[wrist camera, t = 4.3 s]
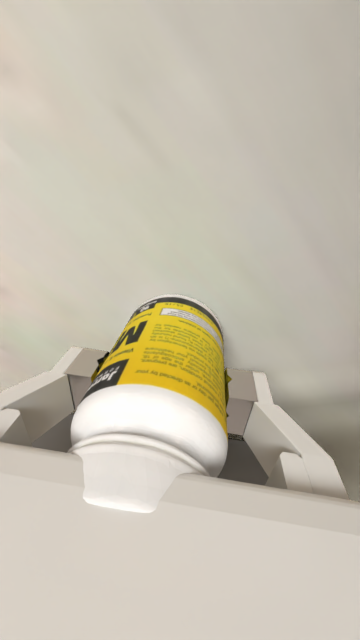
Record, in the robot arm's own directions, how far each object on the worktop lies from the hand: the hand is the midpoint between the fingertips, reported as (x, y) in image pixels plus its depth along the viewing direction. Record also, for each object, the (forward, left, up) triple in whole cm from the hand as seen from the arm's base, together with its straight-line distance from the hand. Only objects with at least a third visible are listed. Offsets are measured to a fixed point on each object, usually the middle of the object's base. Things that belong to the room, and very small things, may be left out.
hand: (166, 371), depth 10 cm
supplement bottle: (0, 0, -3) cm, 3 cm away
